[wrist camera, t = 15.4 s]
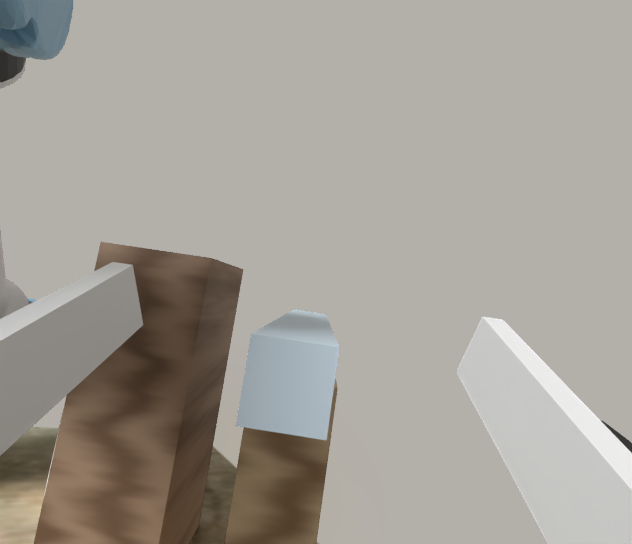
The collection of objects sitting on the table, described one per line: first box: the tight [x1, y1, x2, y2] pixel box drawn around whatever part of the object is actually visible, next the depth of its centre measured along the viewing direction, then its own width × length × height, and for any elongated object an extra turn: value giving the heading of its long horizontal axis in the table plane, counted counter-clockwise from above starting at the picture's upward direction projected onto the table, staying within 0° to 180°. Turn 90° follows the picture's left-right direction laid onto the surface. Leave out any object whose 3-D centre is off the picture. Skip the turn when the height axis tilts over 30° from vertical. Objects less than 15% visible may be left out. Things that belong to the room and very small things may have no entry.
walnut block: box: [34, 242, 243, 544], centre depth 27 cm, size 10×10×30 cm
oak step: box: [225, 379, 337, 544], centre depth 23 cm, size 6×10×22 cm, turn 179°
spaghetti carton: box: [236, 310, 339, 440], centre depth 23 cm, size 22×4×4 cm, turn 179°
